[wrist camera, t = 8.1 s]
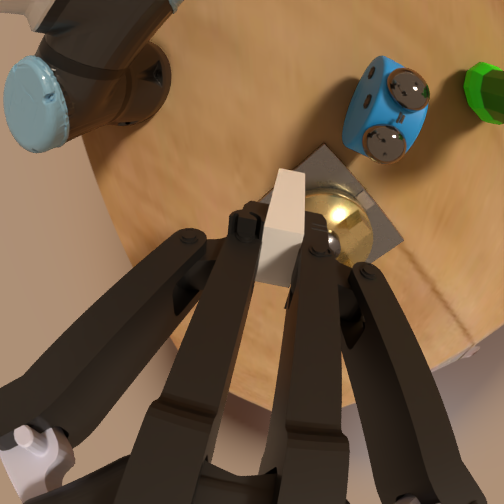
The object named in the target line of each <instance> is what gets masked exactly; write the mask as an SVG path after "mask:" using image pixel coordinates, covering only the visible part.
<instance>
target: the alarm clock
mask: <svg viewBox="0 0 504 504" xmlns="http://www.w3.org/2000/svg"><path fill="white" fill-rule="evenodd" d="M429 99H430V91H429V87H428V85H427V83H426V81H425V80H424V78H423V77H422V76H421V75H420V74H419V73H417V72H416V71H414V70H412V69H409V68H405V67H404V66H402V65H400V64H398V63H396V62H395V61H393V60H391V59H389V58H387V57H385V56H378V57H377V58H375V59H374V60H373V61H372V62H371V63H370V65H369V66H368V67H367V69H366V70H365V72H364V74H363V76H362V77H361V79H360V81H359V83H358V85H357V87H356V90H355V92H354V94H353V97H352V99H351V102H350V105H349V108H348V111H347V114H346V117H345V121H344V126H343V132H342V141H343V144H344V145H345V146H346V147H347V148H349V149H352V150H354V151H356V152H358V153H360V154H362V155H365V156H367V157H369V158H370V159H371V160H373V161H374V162H376V163H379V164H384V165H389V164H393V163H396V162H398V161H399V160H400V159H401V158H402V157H403V156H404V154H405V153H406V152H407V151H408V150H409V148H410V147H411V146H412V144H413V143H414V141H415V140H416V138H417V136H418V134H419V132H420V130H421V128H422V126H423V123H424V120H425V117H426V113H427V109H428V102H429Z"/></svg>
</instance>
